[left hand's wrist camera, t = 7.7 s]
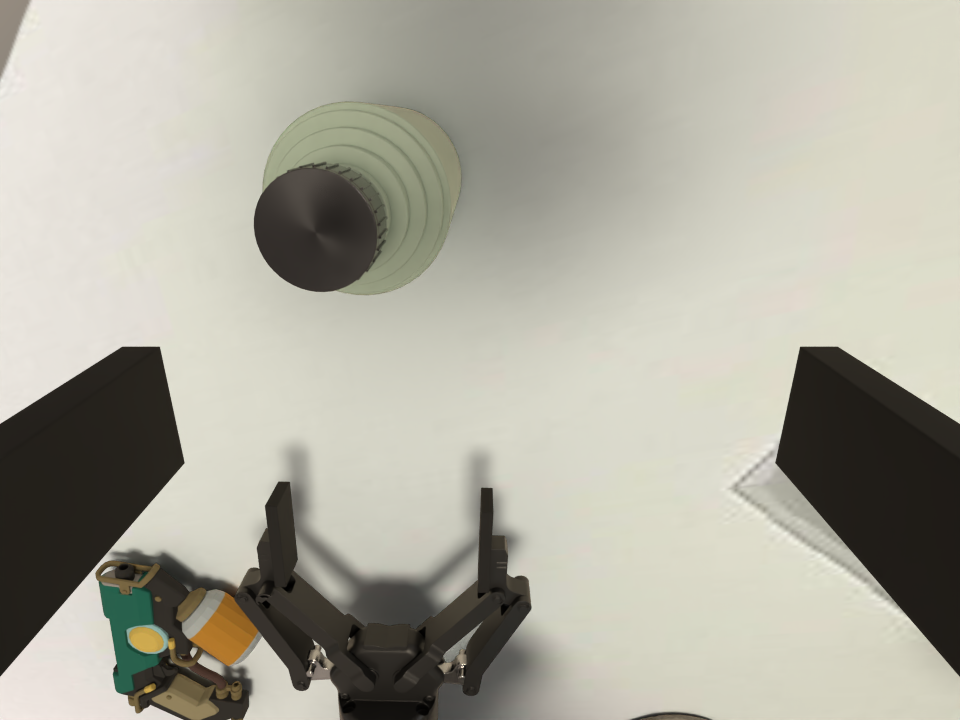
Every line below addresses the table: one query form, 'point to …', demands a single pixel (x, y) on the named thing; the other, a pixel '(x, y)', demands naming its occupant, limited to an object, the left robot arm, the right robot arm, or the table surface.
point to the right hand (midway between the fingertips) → (382, 496)
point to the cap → (320, 226)
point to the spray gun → (174, 642)
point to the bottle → (383, 178)
